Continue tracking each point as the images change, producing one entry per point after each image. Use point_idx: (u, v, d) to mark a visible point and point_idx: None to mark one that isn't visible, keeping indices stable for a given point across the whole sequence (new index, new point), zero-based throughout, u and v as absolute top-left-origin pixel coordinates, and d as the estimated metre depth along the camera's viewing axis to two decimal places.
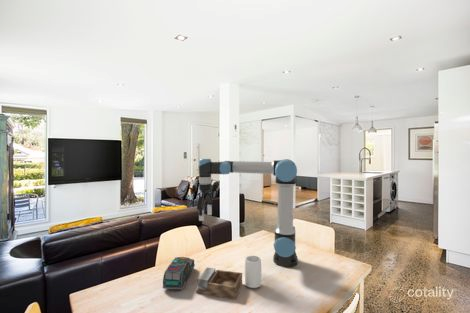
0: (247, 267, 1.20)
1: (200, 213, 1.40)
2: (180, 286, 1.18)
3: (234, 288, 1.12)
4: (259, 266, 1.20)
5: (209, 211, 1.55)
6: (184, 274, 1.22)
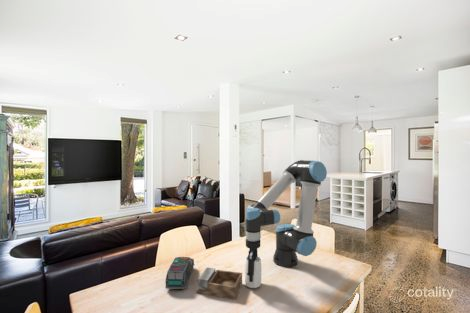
0: (247, 267, 1.20)
1: (251, 279, 1.17)
2: (183, 285, 1.19)
3: (234, 288, 1.12)
4: (259, 266, 1.20)
5: None
6: (187, 274, 1.23)
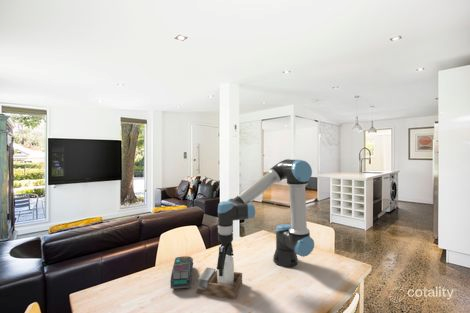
0: None
1: (220, 273, 1.12)
2: (189, 284, 1.20)
3: (234, 288, 1.12)
4: (231, 266, 1.18)
5: None
6: (191, 272, 1.24)
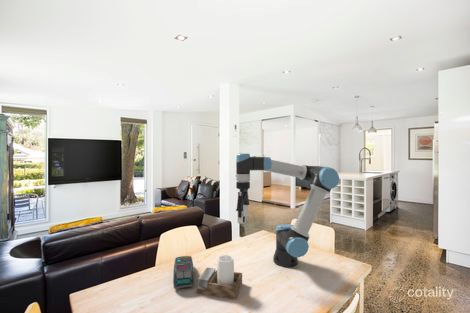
0: (219, 267, 1.17)
1: (240, 215, 1.24)
2: (192, 283, 1.21)
3: (234, 288, 1.12)
4: (231, 266, 1.17)
5: (245, 212, 1.38)
6: (193, 272, 1.25)
